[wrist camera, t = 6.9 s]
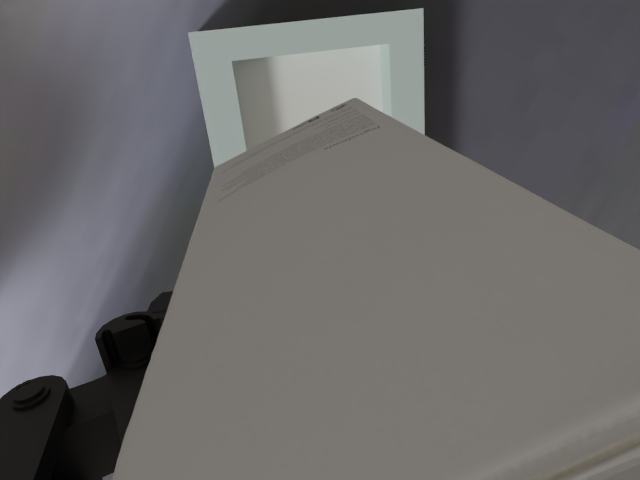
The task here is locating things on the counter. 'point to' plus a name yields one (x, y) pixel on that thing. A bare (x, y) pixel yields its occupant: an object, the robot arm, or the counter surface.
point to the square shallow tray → (306, 74)
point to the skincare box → (389, 323)
